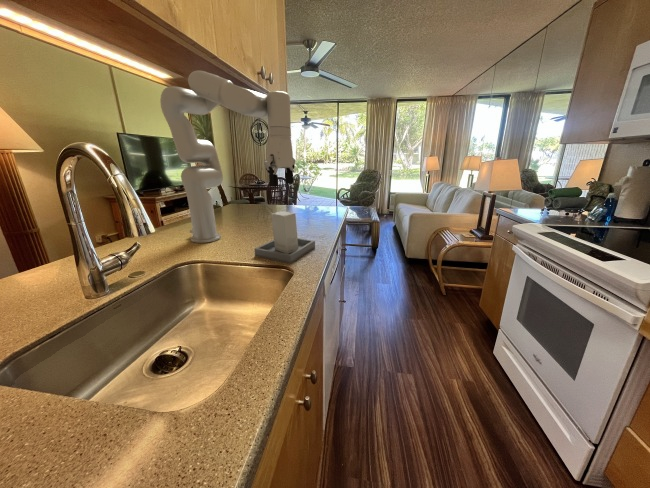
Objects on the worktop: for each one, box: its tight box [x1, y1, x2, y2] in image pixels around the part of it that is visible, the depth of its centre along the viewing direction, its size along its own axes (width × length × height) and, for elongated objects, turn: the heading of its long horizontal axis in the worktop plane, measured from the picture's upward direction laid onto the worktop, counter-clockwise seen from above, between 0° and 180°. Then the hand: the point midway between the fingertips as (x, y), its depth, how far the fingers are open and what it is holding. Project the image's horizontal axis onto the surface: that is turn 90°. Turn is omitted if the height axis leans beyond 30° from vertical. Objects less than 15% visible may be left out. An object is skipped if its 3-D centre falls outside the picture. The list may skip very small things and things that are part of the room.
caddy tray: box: [254, 237, 316, 265], centre depth 103 cm, size 16×18×3 cm
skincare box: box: [270, 210, 299, 254], centre depth 101 cm, size 8×6×15 cm
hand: (281, 184), depth 95 cm, fingers open, 9 cm apart
